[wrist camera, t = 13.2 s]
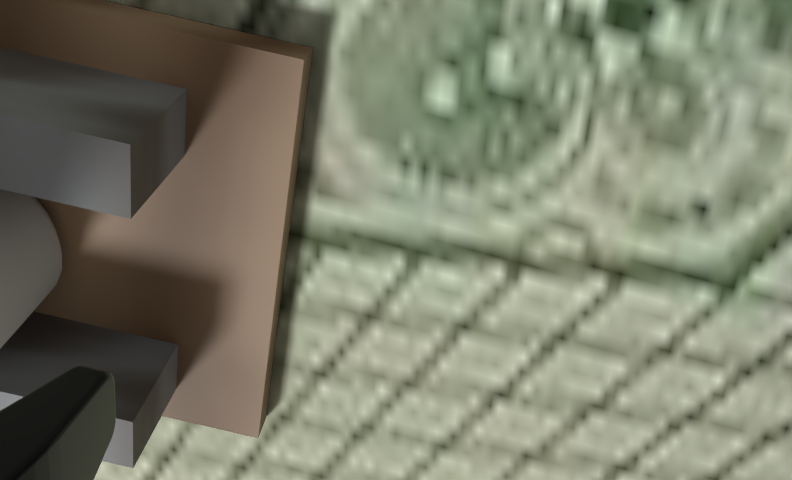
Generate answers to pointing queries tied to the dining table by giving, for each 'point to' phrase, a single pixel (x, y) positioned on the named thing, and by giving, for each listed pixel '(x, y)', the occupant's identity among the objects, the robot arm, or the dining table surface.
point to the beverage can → (25, 259)
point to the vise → (152, 206)
